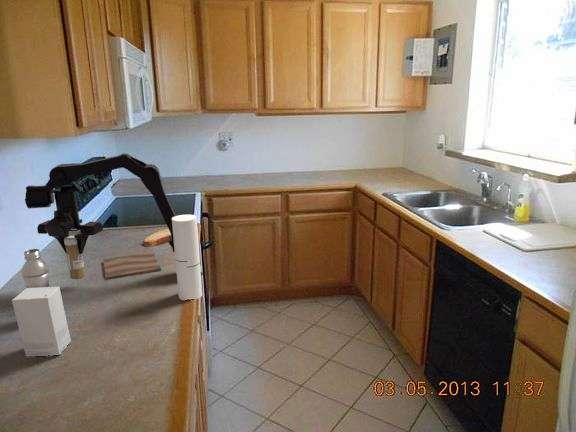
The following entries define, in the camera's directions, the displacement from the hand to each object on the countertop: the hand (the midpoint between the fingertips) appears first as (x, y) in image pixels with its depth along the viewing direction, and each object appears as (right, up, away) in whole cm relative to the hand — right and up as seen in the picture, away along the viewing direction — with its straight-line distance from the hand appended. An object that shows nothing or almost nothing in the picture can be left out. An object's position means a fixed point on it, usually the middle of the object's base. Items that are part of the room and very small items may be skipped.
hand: (74, 253), depth 134 cm
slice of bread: (+15, +1, +49) cm, 51 cm away
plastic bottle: (0, -17, -16) cm, 23 cm away
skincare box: (+9, -21, -31) cm, 39 cm away
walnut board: (+11, -6, +20) cm, 23 cm away
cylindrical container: (+38, -13, -3) cm, 40 cm away
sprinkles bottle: (0, -8, +2) cm, 8 cm away
